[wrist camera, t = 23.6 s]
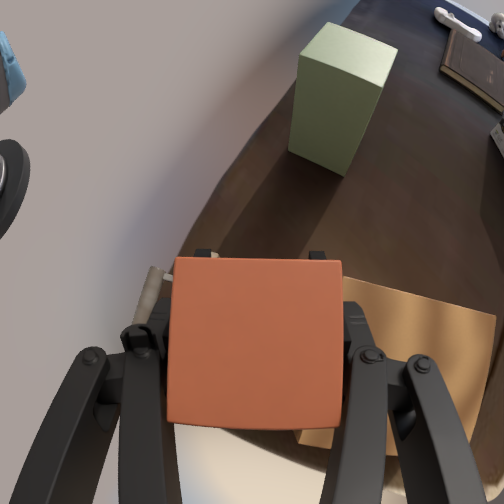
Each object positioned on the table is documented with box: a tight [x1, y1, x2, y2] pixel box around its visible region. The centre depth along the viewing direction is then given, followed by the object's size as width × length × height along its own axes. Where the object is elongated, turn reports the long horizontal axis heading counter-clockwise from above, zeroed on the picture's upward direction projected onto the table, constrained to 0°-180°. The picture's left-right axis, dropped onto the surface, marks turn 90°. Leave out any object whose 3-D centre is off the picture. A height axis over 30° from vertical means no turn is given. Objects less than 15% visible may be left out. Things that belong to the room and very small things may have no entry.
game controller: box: [434, 7, 482, 42], centre depth 50 cm, size 14×4×10 cm
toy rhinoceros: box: [489, 13, 504, 39], centre depth 50 cm, size 7×12×8 cm, turn 144°
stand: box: [288, 22, 398, 177], centre depth 32 cm, size 8×8×16 cm
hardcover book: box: [440, 29, 504, 115], centre depth 45 cm, size 16×23×2 cm
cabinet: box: [293, 276, 496, 456], centre depth 26 cm, size 17×14×10 cm
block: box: [167, 257, 343, 430], centre depth 13 cm, size 5×5×10 cm
